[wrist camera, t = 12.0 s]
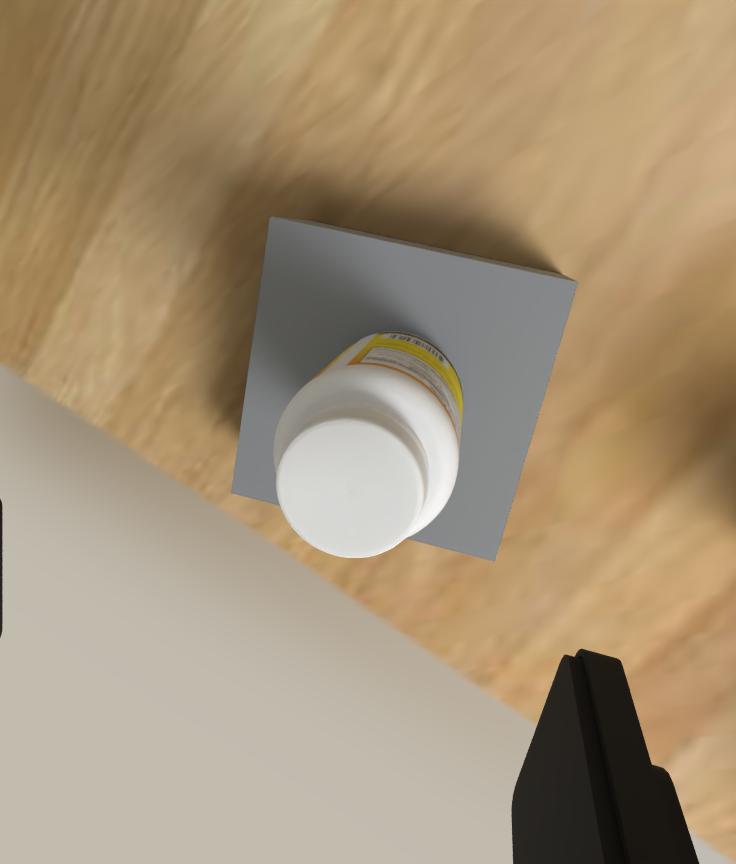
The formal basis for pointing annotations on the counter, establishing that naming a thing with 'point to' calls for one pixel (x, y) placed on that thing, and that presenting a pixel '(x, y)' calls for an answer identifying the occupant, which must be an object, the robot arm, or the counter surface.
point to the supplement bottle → (370, 446)
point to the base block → (422, 316)
